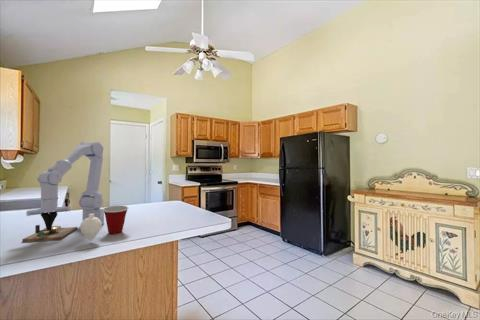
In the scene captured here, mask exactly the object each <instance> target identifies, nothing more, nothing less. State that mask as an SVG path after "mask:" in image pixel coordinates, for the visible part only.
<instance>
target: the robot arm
mask: <svg viewBox="0 0 480 320" xmlns="http://www.w3.org/2000/svg"><path fill="white" fill-rule="evenodd" d="M103 153H104V146H103V145H102V143H100V142H99V141H93V142H92V141H90V142H88V141H87V142H86V141H81V142H80V143H79V144H78V145H77V144H76V148H75V149H73V151H72V152H71V153H70V154H69V155H68V156H67V157H66V158H65V159H58V160H56V163H55V164H53V165H52V166H50V167H49V168H48V169H47V170H46V171H42V172H41V173H40V174H39V176H38V177H37V181H38V183H39V184H40V185H39V188H40V208H37V209H31V210H26V214H25V215H26V217H29V216H36V215H40V216H41V218H42V220H43V222H44V226H45V228H46V230H51V228H52V226H53V224H54V222H55V219H56V218H57V217H58V213H61V212H70V209H71V207H70V206H69V205H68V206H58V203H59V202H58V196H59V183H61V182H62V179H63V177H64V175H65V174H66V173H68V172H69V171H70V170H71V169H72V168H73V166H72V165H73V164H74V163H75V162H76V161H78V160H79V159H80V158H81V157H83V156H85V158H88V159H89V161H90V162H89V163H90V164H89V169H88V170H89V171H88V176H87V182H86V183H87V184H86V189H85V190H84V191H83V192H82V193H81V197H80V198H79V200H78V205H79V207H81V210H82V219H81V220H82V221H83V220H84V219H86V218H89V214H94V217H97V218H99V219H100V220H101V222H102V225H103V224H105V213H104V211H103V209H104V208H101V206H103V202H104V201H103V193H102V192H100V191H99V187H100V180H101V175H102V168H103V160H104V158H103V157H104V156H103ZM82 221H81V222H82ZM78 228H80V226H78Z"/></svg>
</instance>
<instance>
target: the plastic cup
mask: <svg viewBox="0 0 480 320" xmlns="http://www.w3.org/2000/svg"><path fill="white" fill-rule="evenodd" d="M102 209H103V211H104V218H105V222H106V227H107V232H108V235H118V234H122V233H123V230H124V225H125V221H126V220H125V219H126V214H127V211H128V209H129V207H128V206H126V205H111V206H106V207H104V208H102Z"/></svg>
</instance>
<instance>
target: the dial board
mask: <svg viewBox="0 0 480 320" xmlns="http://www.w3.org/2000/svg"><path fill="white" fill-rule="evenodd" d="M78 228H79V226H73V227H70V226H69V227H61V228H60V229H58V230H52V231H43V232H39V233H35V232H34V233H33V234H31V235H28V236H26V237H24V238H22V239H21V240H22V242H21V243H33V242H50V241H62V240H63V239H65V238H67V237H68V236H69V235H71V234H73V233H74V232H76V231H77V230H78ZM42 230H44V228H43V229H42Z"/></svg>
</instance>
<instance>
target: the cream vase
mask: <svg viewBox="0 0 480 320" xmlns="http://www.w3.org/2000/svg"><path fill="white" fill-rule="evenodd" d="M102 225H103V224H102V222H101V220H100V219H99V218H97V217H94V214H89V218H86V219H84V220H83V221H81V223H80V225H79V227H80V231H81V233H82V234H83V235H84V236H85V238H86V239H87V240H89V241H90V243H92V241H93V240H94V239H95V238H96V236H97V235H98V234H99V232H100V230H101V229H102Z"/></svg>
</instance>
